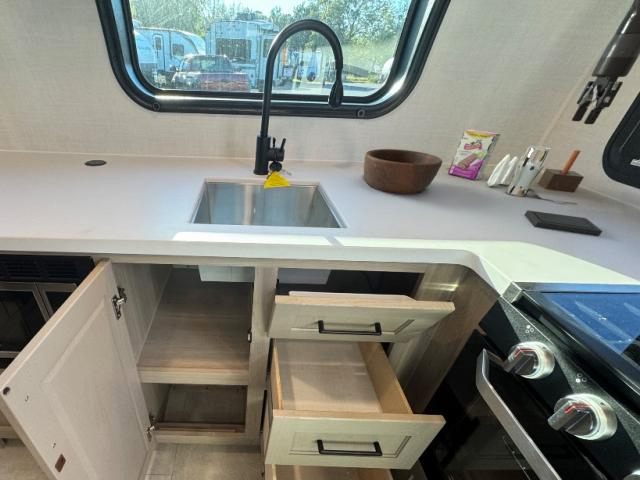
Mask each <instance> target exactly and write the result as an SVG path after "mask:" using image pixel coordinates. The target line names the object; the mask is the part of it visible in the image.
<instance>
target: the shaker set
mask: <svg viewBox="0 0 640 480" xmlns="http://www.w3.org/2000/svg"><path fill="white" fill-rule="evenodd" d="M518 163H519V157H518V156H513V158H512V159H511V154H510V153H508V154H506V155H505V156H504V157H503V158H502V160H501V161H500V162H499V163H497V165H496V166H495V167H494V169H493V171H492V172H491V175H490V177H489V179H488V180H487V185H488V187H492V186H493V187H494V186H497V185H500V184H501V185H503V186H504V185H506V186H509V184H510V182H511V181H512V179H513V177H514V175H515V171H516V168H517V166H518Z"/></svg>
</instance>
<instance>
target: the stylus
mask: <svg viewBox="0 0 640 480" xmlns="http://www.w3.org/2000/svg"><path fill="white" fill-rule="evenodd" d="M580 153H581V150H578V149H575V150H573V152H572V154H571V156H570V157H569V159H568V161H567V162H566V164H565V165H564V167H563V168H562V169H561V170H562V172H561V173H568V171H571V168H572V167H573V165H574V163H575V162H576V160H577V158H578V156H579V155H580Z"/></svg>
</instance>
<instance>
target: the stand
mask: <svg viewBox="0 0 640 480" xmlns="http://www.w3.org/2000/svg"><path fill="white" fill-rule="evenodd" d="M562 170H563V169H555V168H545V170H544V172H543V174H542V175H541V176H540V179H539V181H538V182H537V184H538V185H539V186H540V187H541V188H543V189H544V190H548V191H557V192H566V193H575V192H576V191H577V189H578V187H579V186H580V184H581V183H582V181H583V179H584V178H585V176H584V175H582V174H580V173H579V172H576V171H575V170H569V171H568V173H561V172H562Z"/></svg>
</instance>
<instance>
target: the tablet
mask: <svg viewBox="0 0 640 480" xmlns="http://www.w3.org/2000/svg"><path fill="white" fill-rule="evenodd" d="M534 212H537V213H544V214H552V215H559V216H567V217H574V218H582V219H583V220H584V221H585V222H587V223H588V224H589V225H590V226H592V227H593V228H594V229H591V228H584V227H577V226H570V225H563V224H555V223H548V222H541V221H540V219H539V218H538V217H537V216H536V215H535V214H534ZM524 216H525V217H526V219H527V220H528V221H529V222H530V223H531V224H532V226H533V227H534V228H538V229H539V228H540V229H546V230H552V231H559V232H564V233H565V232H567V233H571V234H572V233H573V234H579V235H587V236H593V237H600V235H601V234H602V233H603V230H602V229H601V228H599V227H598V226H597V225H596V224H594V223H593V222H592V221H590V220H589V219H588V217H582V216H574V215H566V214H558V213H552V212H544V211H543V212H542V211H538V210H537V211H536V210H529V209H527V210H526V211H525V213H524Z"/></svg>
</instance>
